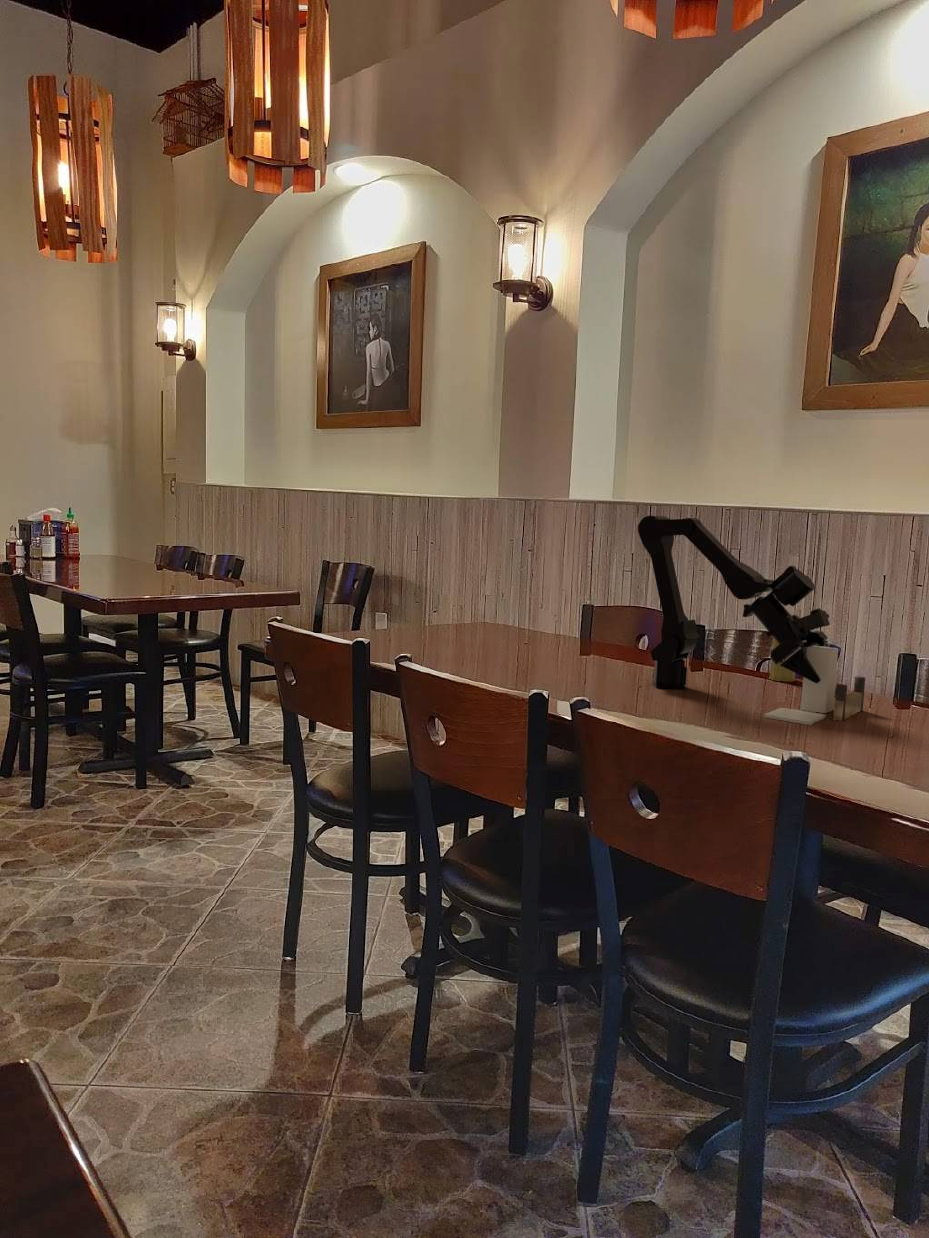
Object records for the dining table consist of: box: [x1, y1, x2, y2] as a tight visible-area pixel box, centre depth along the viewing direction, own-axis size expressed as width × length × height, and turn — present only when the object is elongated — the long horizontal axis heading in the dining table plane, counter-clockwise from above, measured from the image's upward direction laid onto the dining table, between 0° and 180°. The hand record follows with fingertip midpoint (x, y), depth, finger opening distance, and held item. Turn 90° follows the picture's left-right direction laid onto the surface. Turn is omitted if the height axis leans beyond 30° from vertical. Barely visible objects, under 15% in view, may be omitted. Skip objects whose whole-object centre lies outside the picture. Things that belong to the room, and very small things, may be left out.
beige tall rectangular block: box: [800, 646, 839, 714], centre depth 192 cm, size 5×5×13 cm
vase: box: [768, 637, 796, 683], centre depth 226 cm, size 6×6×14 cm
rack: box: [832, 676, 866, 722], centre depth 189 cm, size 2×14×7 cm, turn 141°
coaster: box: [764, 707, 827, 726], centre depth 185 cm, size 9×9×1 cm
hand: (826, 679), depth 191 cm, fingers open, 9 cm apart
